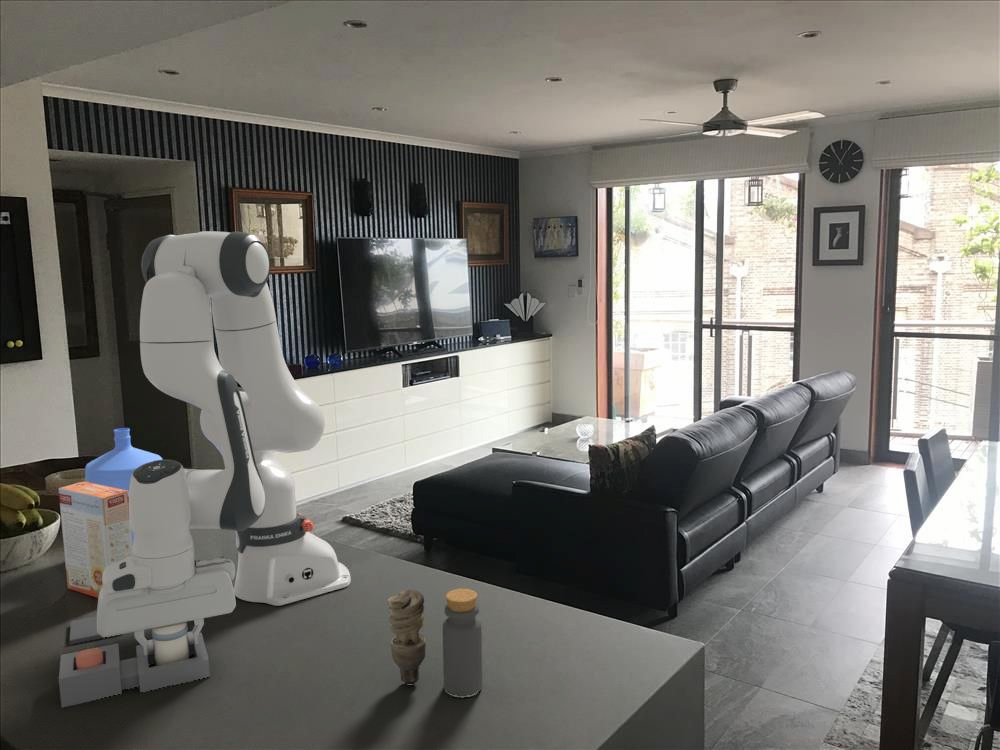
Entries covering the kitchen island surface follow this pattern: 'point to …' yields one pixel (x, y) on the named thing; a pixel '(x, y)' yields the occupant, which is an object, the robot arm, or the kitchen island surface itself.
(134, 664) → the housing
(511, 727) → the kitchen island surface
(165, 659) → the cartridge
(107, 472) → the water jug
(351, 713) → the kitchen island surface
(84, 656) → the plunger
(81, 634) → the pad
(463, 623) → the bottle
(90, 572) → the cracker box
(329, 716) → the kitchen island surface
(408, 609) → the light bulb
